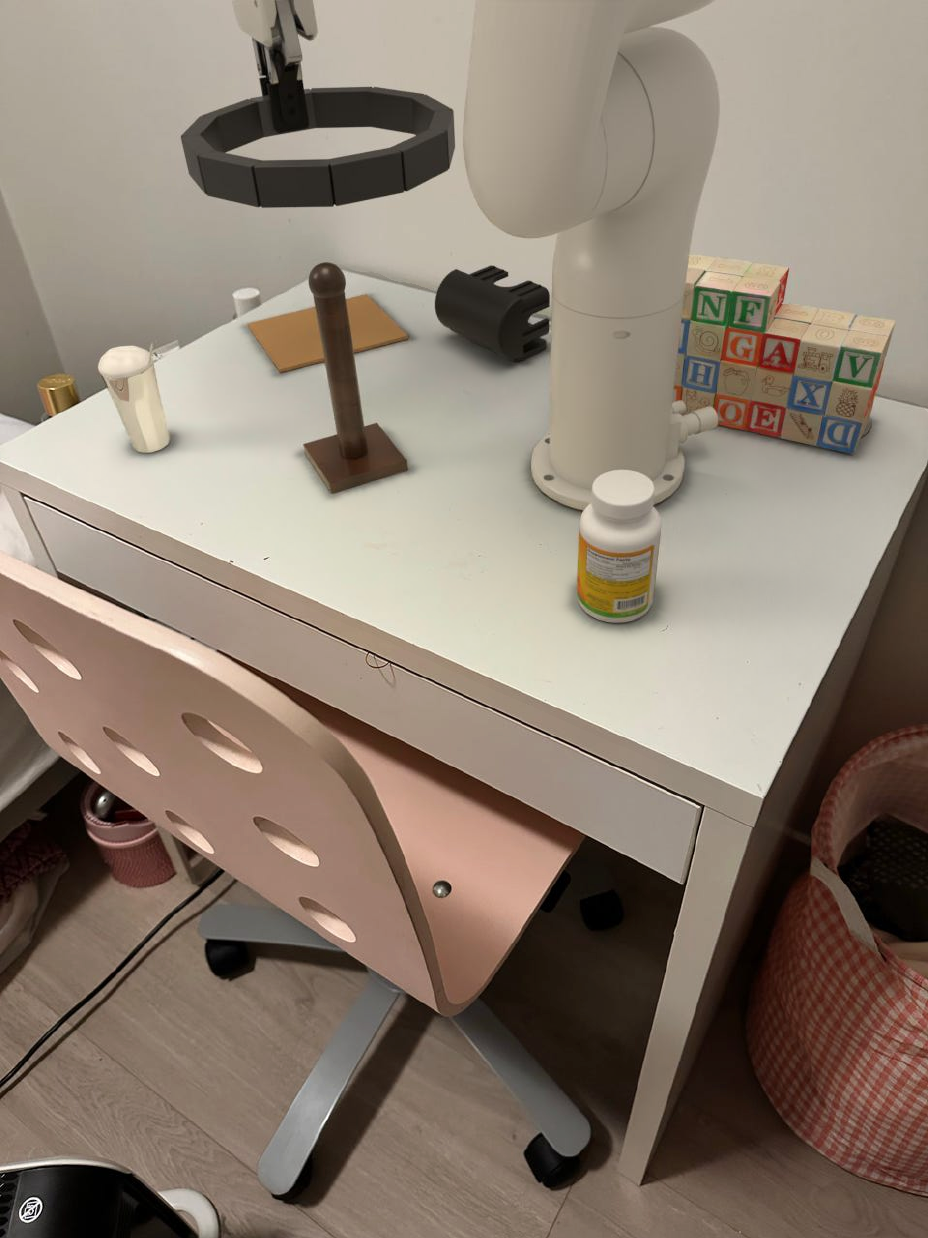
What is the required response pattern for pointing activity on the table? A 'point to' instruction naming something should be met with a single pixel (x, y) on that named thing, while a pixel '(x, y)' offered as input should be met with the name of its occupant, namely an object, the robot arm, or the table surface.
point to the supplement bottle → (618, 547)
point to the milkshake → (136, 395)
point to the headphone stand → (345, 397)
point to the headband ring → (322, 177)
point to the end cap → (494, 311)
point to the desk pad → (299, 336)
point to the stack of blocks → (775, 356)
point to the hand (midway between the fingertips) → (288, 125)
